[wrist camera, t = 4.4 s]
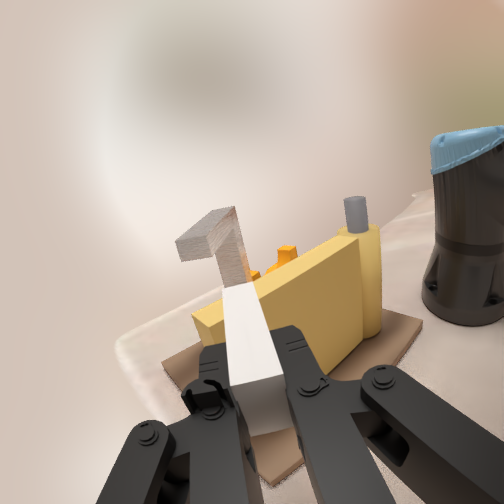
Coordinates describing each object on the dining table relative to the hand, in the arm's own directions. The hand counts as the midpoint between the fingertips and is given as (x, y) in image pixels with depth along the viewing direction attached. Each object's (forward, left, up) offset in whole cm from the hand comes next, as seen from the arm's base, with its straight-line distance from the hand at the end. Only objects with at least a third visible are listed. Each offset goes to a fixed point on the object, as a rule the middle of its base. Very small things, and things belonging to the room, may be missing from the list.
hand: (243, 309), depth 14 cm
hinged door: (+4, -9, -14) cm, 17 cm away
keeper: (+16, -7, -16) cm, 23 cm away
